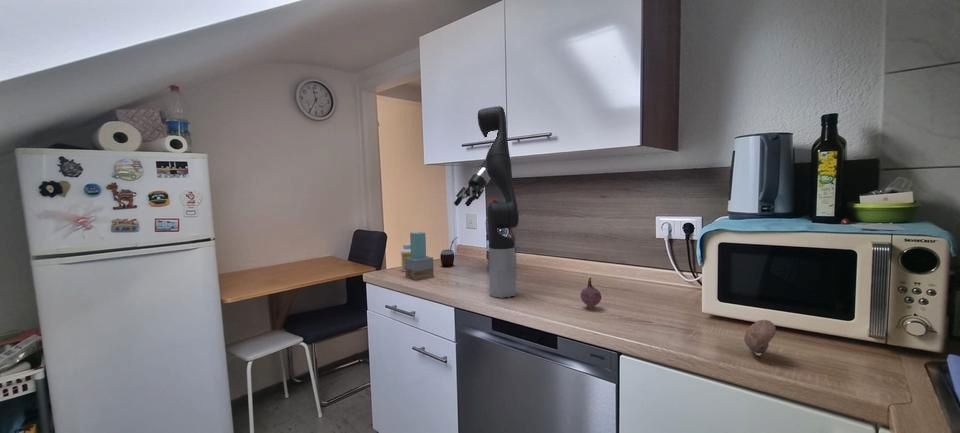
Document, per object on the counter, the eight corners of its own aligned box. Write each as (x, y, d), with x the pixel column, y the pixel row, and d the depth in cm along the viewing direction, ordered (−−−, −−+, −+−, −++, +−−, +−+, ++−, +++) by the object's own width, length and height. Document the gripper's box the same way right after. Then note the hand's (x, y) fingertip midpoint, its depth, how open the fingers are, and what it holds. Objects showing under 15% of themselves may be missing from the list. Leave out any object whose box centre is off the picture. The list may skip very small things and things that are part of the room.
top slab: (433, 267, 159) (433, 257, 159) (415, 271, 153) (415, 260, 153) (422, 264, 166) (422, 255, 166) (404, 268, 160) (404, 257, 160)
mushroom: (768, 366, 76) (770, 329, 75) (735, 355, 81) (736, 320, 80) (781, 356, 80) (783, 321, 79) (748, 346, 85) (750, 313, 84)
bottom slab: (433, 278, 159) (433, 267, 159) (415, 281, 154) (414, 271, 154) (423, 274, 167) (423, 264, 166) (405, 277, 161) (405, 267, 161)
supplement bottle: (417, 271, 172) (416, 244, 171) (403, 272, 170) (402, 245, 169) (414, 268, 178) (413, 242, 177) (400, 269, 176) (399, 243, 175)
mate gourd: (438, 265, 184) (437, 236, 182) (453, 264, 187) (452, 235, 186) (443, 268, 177) (442, 238, 176) (458, 266, 180) (458, 236, 179)
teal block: (426, 257, 159) (425, 232, 158) (415, 259, 156) (414, 233, 155) (421, 256, 163) (420, 231, 162) (410, 257, 160) (410, 232, 159)
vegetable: (576, 306, 116) (576, 275, 115) (592, 304, 118) (592, 273, 118) (588, 312, 111) (588, 280, 110) (605, 309, 113) (605, 278, 112)
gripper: (466, 174, 172) (446, 199, 166) (485, 172, 161) (465, 199, 155) (475, 185, 176) (456, 210, 170) (494, 184, 165) (475, 211, 159)
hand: (460, 204), depth 162 cm, fingers open, 8 cm apart
